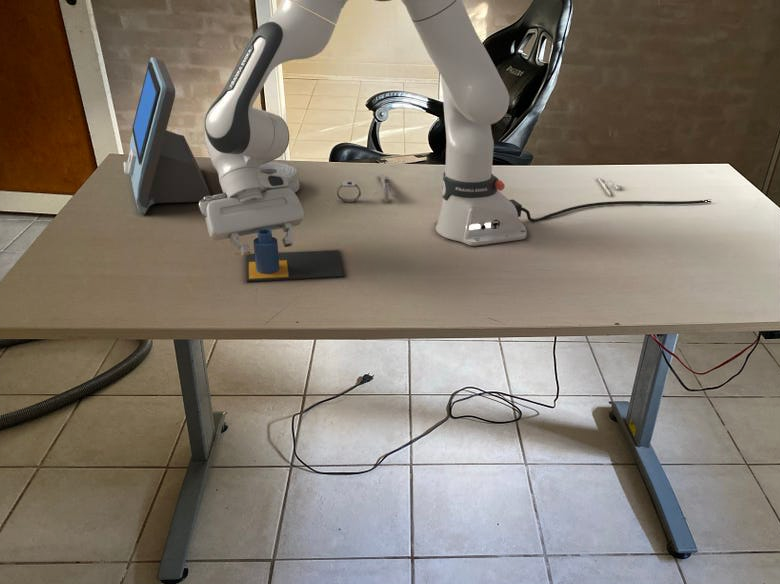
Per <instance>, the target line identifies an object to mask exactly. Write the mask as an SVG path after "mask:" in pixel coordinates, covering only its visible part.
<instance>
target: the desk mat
mask: <svg viewBox="0 0 780 584" xmlns="http://www.w3.org/2000/svg"><path fill="white" fill-rule="evenodd" d="M278 256H279V268H280V269H279V271H277V272H275V273H272V274H262V273H259V272H257V270H256V262H255V253H250V254H249V255H246V283H259V282H277V281H278V282H279V281H297V280H298V281H299V280H315V279H318V280H319V279H334V278H335V279H336V278H345V274H344V270H343V266H342V261H341V257H340V253H339V250H338V249H334V250H333V249H332V250H312V251H311V250H309V251H290V252H289V251H288V252H287V251H285V252H278Z"/></svg>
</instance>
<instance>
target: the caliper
mask: <svg viewBox="0 0 780 584" xmlns="http://www.w3.org/2000/svg"><path fill="white" fill-rule="evenodd" d="M379 177H380V181H381V184H382V189H383V199H384V203H389V196H390V195H389V194H390V191H389V190H390V189H389V188H390V187H389V185H390V184H389V177H386V175H385V174H383V173H382V174H381V173H380V176H379Z"/></svg>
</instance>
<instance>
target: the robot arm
mask: <svg viewBox="0 0 780 584" xmlns="http://www.w3.org/2000/svg"><path fill="white" fill-rule="evenodd" d="M348 1H349V0H280V2H279V4H278V6H277V7H276V10H275V11H274V12H273V14H272V15H271V17H270V18H269V19H268V20H267V21H266V22H265V23H262V24H260V26H258V27H257V28H256V30H255V31H254V32H253V34H252V36H251V38H250V39H249V41H248V42H247V45H246V46H245V48H244V50H243V52H242V54H241V56H240V57H239V59H238V61H237V62H236V65H235V67H234V68H233V71H232V72H231V74H230V77H229V78H228V80H227V82H226V84H225V86H224V87H223V89H222V91H221V92H220V94H219V95H218V96H217V98H216V99H215V101H214V102H213V103H211V105H210V107H209V109H207V112H206V114H205V116H204V117H205V118H204V131H203V133H204V143H205V146H206V150H207V153H208V156H209V159H210V161H211V164H212V166H213V168H214V169H215V171H216V172H217V174H218V182H219V185H220V187H221V190H222V193H218V194H214V195H210V196H206V197H204V199H202V200H201V201H200V202H198V207H199V210H200V213H201V214H202V216H203V217H204V218H205V223H206V228H207V233H208V235H209V237H210V238H211V239H212V240H214V241H215V242H217V241H222V240H229V242H230V244H231V245H233V246H234V247H235V248H236V249H238V250H239V253H240V255H241V257H247V255H249V254H251V250H250V247H249V245H248V244H244V243H242V242H241V241H240V240H239V238H240V237H242V236H243V237H244V236H248V235H253V234H258V231H259V230H262V229H269V230H271V231H273V230H280V229H282V231H283V232H284V233H285V236H283V237H282V239H281V243H282V244H283V247H284V248H287V247H292V246H293V245H294V242H293V239H292V237H291V236H292V232H293V227H294V226H295V227H296V226H300V225H301V223H302V222H303V220H304V219H305V211H304V207H303V206H302V204H301V201H300V199H299V198H298V196H297V194H296V192H295V193H294V192H293V191H292V190H291V189H290V188H287V187H288V180H287V178H286V177H283V176H277V175H270V174H265V173H261V171H260V168H259V166H260V165H261V164H265V163H268V162H274V161H275V160H277V159H279V158H280V157H282V156H283V155H284V153H285V152H286V150H287V148H288V146H289V145H290V144H289V143H290V131H289V127H288V125H287V122H286V121H285V119H284V118H283V117H281V115H277V114H275V113H273V112H269V111H267V110H265V109H264V110H263V109H261V108H260V109H259V108H255V107H254V104H255V102H256V100H257V99H258V97H259V95H260V93H261V91H262V89H263V87H264V85H265V83H266V82H267V80H268V78H269V76H270V74H271V73H272V71H273V70H275V68H277V67H278V66H279V65H281V64H284V63H286V62H290V61H297V60H307V59H310V58H313V57H315V56H318V55H319V54H321V53H322V52H323V51H324V50H325V48H326V47H327V45H328V44H329V42H330V40H331V39H332V35H333V34H334V31H335V29H336V26H337V23H338V21H339V18H340V15H341V12H342V9H344V7H345V5H346V4H347V3H348ZM375 1H377V2H390V1H391V0H375ZM400 1H401V2H402V3H403V5H404V6H405V8H406V10H407V13H408V14H409V17H410V19H411V22H412V24H413V25H414V29H416V31H417V33H418V36H419V38H420V40H421V42H422V44H423V46H424V48H425V51H426V52H427V54H428V56H429V58H430V59H431V61H432V62H433V64H434V66H435V68H436V69H437V71H438V73H439V74H440V77H441V79H440V82H441V83H440V84H441V89H442V90H441V91H442V98H443V99H442V102H443V116H444V127H445V138H446V139H445V140H446V142H445V143H446V144H445V164H444V166H445V167H444V168H445V169H444V172H443V174H442V181H441V196H442V200H441V201H442V202H441V208H440V212H439V216H438V220H437V223H436V226H435V231H436V233H437V234H438V235H440V236H442V237H443V238H445V239H448V240H452V241H455V242H456V241H457V242H460V243H463V244H466V245H468V246H471V247H476V246H484V245H492V244H498V243H506V242H512V241H521V240H522V241H523V240H525V239H526V238H527V236H528V234H527V231H528V230H527V227H526V226H525V225H524V223H523V222H522V221H521V220H519V218H520V217H521V216H522V212H524V213H525V214H526V217H527V220H528V221H529V222H531V223H535V222H541V221H544V220H547V219H549V218H552V217H556V216H558V215H561V214H565V213H567V212H571V211H575V210H581V209H585V208H590V207H597V206H598V207H599V206H610V205H698V204H709V203H711V202H710V201H708V200H709V199H702V200H701V199H700V200H684V201H683V200H681V201H680V200H679V201H678V200H677V201H675V200H673V201H671V200H670V201H669V200H667V201H666V200H618V201H615V200H614V201H601V202H591V203H585V204H580V205H576V206H575V205H574V206H571V207H566V208H564V209H562V210H557V211H555V212H552V213H548V214H546V215H544V216H542V217H539V218H532V217H531V213H530V211H529V210H528V209H526V208H525V207H523V204H521V203H519V202H518V201H517V200H515V199H508V197H507V196H505V195H504V194H503V193H502V192H500V191H503V190H504V189H505V183H504V182H503V181H502V180H501V179H499V178H498V177H497V176H495V175H494V174H493V173H492V172H493V161H494V149H495V142H494V141H495V140H494V138H493V137H494V136H493V133H492V125H493V124H496V123H498V122H499V121H500V120H501V119H503V118H504V116H505V115H506V114H507V112H508V109H509V107H510V93H509V91H508V89H507V87H506V85H505V83H504V81H503V79H502V78H501V75H500V74H499V71H498V69H497V67H496V65H495V64H494V62H493V60H492V58H491V56H490V54H489V52H488V51H487V49H486V47H485V46H484V44H483V42H482V41H481V39H480V36H479V35H478V33H477V31H476V29H475V27H474V25H473V23H472V20H471V18H470V16H469V14H468V10H467V9H466V7H465V4H464V3H463V0H400ZM703 200H704V201H703ZM203 201H204V202H203ZM705 201H707V202H705ZM708 202H709V203H708Z"/></svg>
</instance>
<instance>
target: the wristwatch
mask: <svg viewBox="0 0 780 584" xmlns="http://www.w3.org/2000/svg"><path fill="white" fill-rule="evenodd" d="M341 188H357V190H358V195H357V196H356V197H354V198H352V199H347V198H344V197H342V196H340V194H339V193H340V189H341ZM361 195H362V192H361V188H360V187H359V185H358V184H357V183H356V182H355V181H342V182H341V183H340V184H339V186H338V187H337V189H336V196H337V198H338V199H339V200H341V201H343V202H344V203H354V202H356V201H357V200H359V199H360V197H361Z"/></svg>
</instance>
